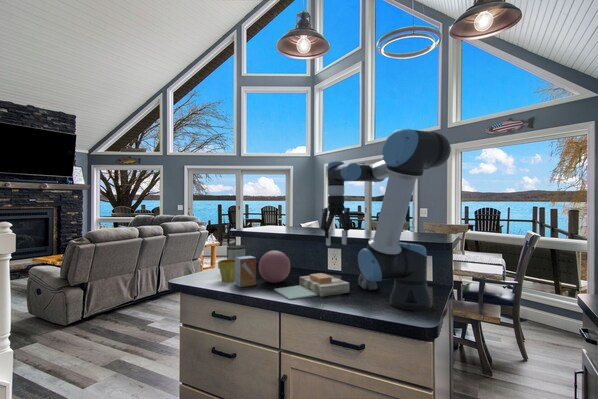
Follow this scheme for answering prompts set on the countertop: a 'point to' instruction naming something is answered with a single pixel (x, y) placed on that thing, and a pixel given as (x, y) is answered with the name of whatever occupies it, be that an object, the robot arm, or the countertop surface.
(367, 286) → the mineral rock
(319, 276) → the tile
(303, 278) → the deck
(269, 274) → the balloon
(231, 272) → the plant pot
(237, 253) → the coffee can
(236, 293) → the countertop surface
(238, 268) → the small box
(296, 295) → the mat
